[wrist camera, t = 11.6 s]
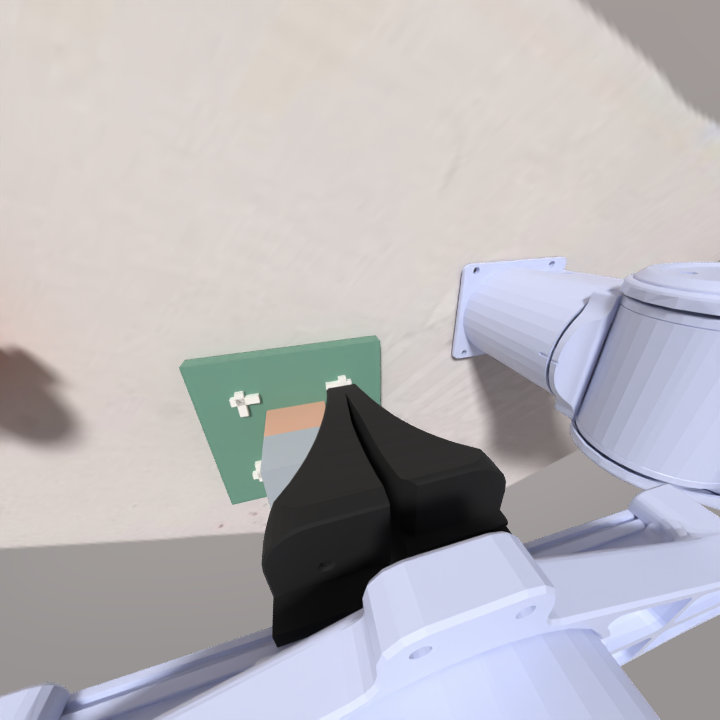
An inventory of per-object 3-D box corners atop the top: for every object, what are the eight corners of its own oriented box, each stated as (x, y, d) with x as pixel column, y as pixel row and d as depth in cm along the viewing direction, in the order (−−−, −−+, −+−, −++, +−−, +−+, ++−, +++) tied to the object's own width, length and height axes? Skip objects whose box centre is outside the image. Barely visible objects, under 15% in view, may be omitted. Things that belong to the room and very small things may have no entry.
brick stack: (324, 400, 22) (336, 455, 17) (329, 442, 24) (341, 503, 19) (266, 410, 21) (260, 471, 16) (276, 453, 23) (274, 520, 18)
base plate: (375, 335, 22) (381, 342, 20) (377, 461, 28) (382, 473, 27) (184, 360, 19) (177, 370, 18) (234, 493, 25) (231, 508, 24)
